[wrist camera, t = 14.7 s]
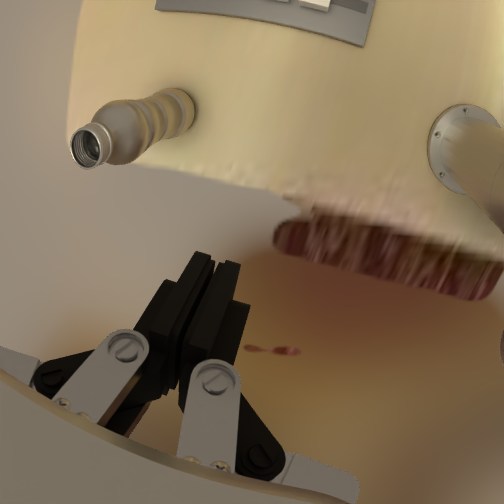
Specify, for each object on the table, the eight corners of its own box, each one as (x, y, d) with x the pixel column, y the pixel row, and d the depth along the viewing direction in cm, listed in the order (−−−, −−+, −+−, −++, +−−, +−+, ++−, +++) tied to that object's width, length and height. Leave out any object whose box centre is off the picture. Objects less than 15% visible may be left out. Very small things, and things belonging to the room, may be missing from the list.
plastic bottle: (155, 132, 42) (63, 183, 25) (156, 86, 38) (55, 112, 21) (198, 135, 41) (118, 189, 24) (200, 86, 37) (113, 109, 21)
